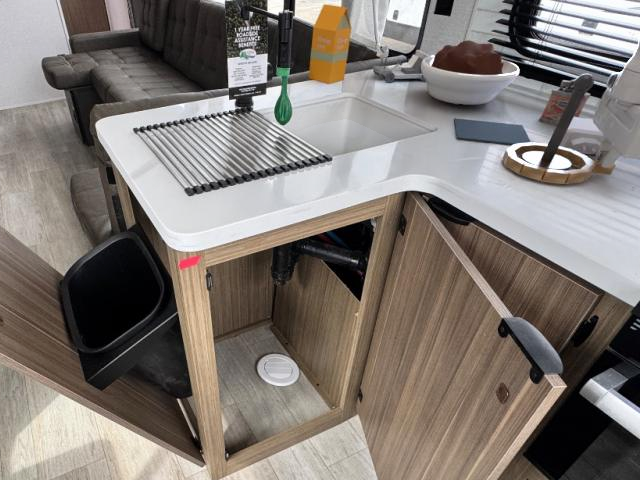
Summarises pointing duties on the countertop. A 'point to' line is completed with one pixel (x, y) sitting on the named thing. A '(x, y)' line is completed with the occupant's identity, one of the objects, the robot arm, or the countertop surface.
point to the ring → (552, 175)
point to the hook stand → (561, 130)
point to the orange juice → (330, 45)
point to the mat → (490, 132)
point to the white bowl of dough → (467, 73)
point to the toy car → (400, 66)
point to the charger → (582, 136)
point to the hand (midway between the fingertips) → (602, 163)
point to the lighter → (560, 103)
